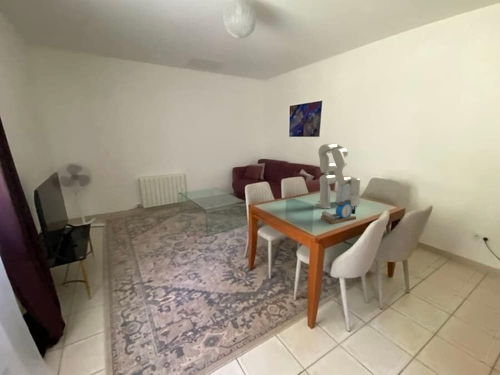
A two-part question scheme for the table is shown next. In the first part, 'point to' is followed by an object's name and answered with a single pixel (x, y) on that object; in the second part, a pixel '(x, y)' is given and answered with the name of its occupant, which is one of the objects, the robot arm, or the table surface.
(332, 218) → the winch
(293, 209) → the table surface
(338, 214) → the alarm clock
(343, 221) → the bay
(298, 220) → the table surface
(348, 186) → the plastic bottle
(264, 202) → the table surface
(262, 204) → the table surface
